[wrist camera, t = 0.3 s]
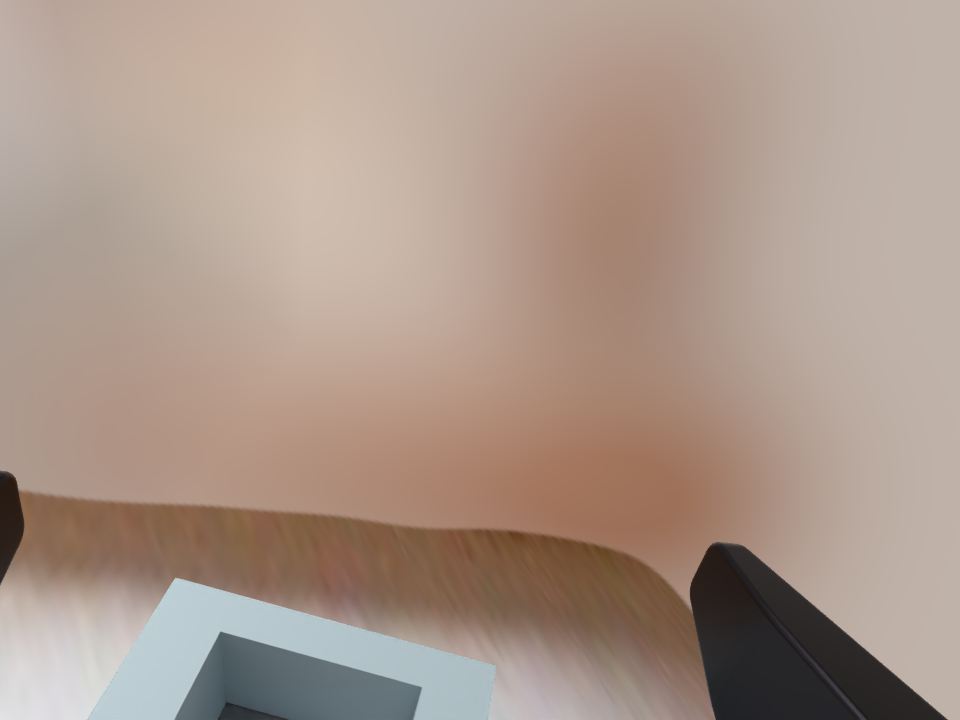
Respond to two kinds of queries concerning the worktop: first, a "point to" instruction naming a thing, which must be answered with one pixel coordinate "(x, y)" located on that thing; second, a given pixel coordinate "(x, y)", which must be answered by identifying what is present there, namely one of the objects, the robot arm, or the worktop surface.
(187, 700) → the light blue tray
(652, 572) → the worktop surface
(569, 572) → the worktop surface
